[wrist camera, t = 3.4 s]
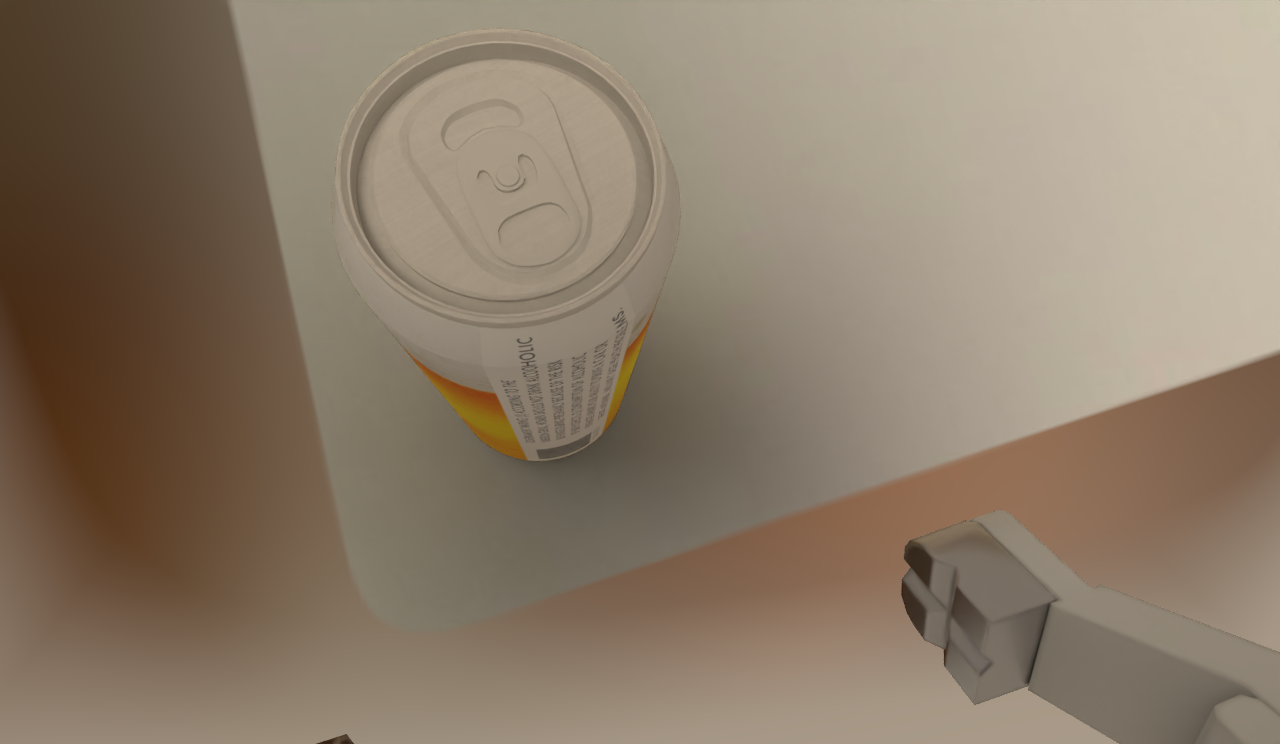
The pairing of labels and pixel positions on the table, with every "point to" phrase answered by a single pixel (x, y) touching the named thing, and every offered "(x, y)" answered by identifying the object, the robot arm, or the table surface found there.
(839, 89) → the table surface
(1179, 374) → the table surface
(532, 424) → the orange beverage can
